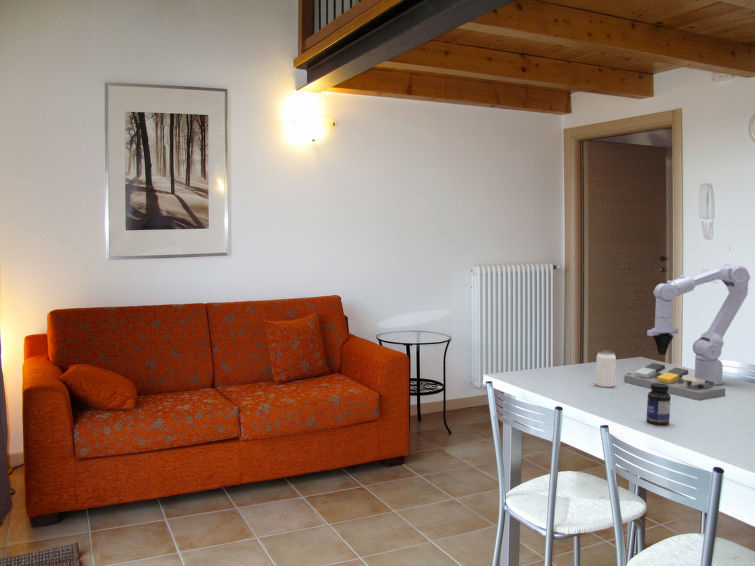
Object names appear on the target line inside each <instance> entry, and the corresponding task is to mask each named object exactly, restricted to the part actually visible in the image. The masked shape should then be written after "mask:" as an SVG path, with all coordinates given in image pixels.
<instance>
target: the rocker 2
mask: <svg viewBox="0 0 755 566" xmlns="http://www.w3.org/2000/svg"><path fill="white" fill-rule="evenodd" d="M661 374H662V375H660V376H658V377H657V380H658V381H661V382H665V383H672V382H674V381H676V380H678V379H679V378H682V377H683V375H685V376H688V375H689V370H688V369H684V368H680V367H673V368H672V369H670V370H667V371H665V372H664V373H661Z"/></svg>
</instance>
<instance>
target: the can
mask: <svg viewBox="0 0 755 566" xmlns="http://www.w3.org/2000/svg"><path fill="white" fill-rule="evenodd" d="M616 364H617V357H616V354H615V352H614V351H610V350H598V351H597V354H596V363H595V366H596V367H595V385H596V386H597V387H600V388H607V389H608V388H614V387H615V386H616V366H617V365H616Z"/></svg>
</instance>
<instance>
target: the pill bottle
mask: <svg viewBox="0 0 755 566" xmlns="http://www.w3.org/2000/svg"><path fill="white" fill-rule="evenodd" d="M650 389H651V390H650V391H649V392H648V393H647V400H646V401H647V402H646V422H648V423H649V424H652V425H657V426H658V425H659V426H666V425H668V424H669V423H670V418H671V417H670V415H671V414H670V413H671V393H667V391H668V385H666V384H662V383H652V384H651V388H650Z"/></svg>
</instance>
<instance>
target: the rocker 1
mask: <svg viewBox="0 0 755 566" xmlns="http://www.w3.org/2000/svg"><path fill="white" fill-rule="evenodd" d="M665 369H666V365H665V364H661V363H660V364H659V363H656V362H652V363H650V364H648V365H645V366H644V367H642V368H639V369H637V370H635V371H634V374H635V375H636V376H640V377H644V378H648V377H650V376H652V375H654V374H655V373H661V372H662V371H665Z"/></svg>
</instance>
